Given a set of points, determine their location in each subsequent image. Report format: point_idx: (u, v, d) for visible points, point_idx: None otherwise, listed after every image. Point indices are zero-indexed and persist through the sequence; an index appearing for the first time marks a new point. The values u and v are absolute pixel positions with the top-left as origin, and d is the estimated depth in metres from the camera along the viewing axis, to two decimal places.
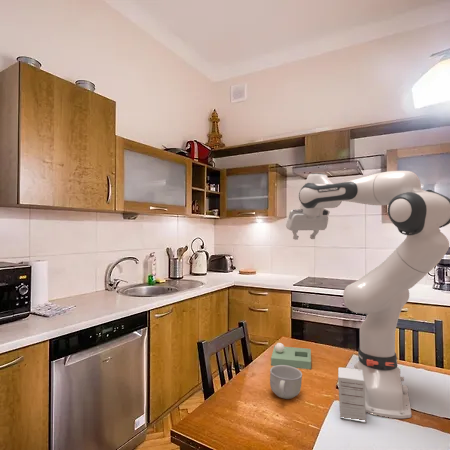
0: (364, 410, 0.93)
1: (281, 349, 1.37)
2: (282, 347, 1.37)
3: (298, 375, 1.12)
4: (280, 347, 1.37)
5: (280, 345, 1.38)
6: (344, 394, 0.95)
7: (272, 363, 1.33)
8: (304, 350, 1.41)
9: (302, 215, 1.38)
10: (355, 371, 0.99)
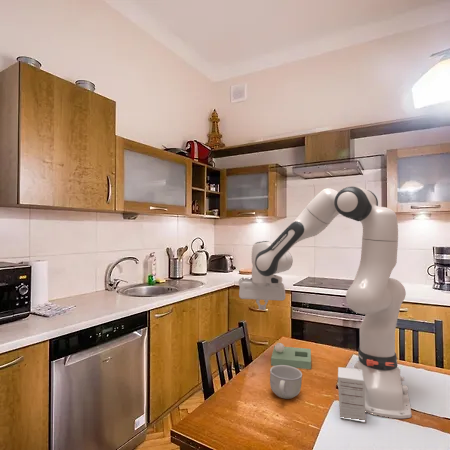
0: (364, 410, 0.93)
1: (281, 349, 1.37)
2: (282, 347, 1.37)
3: (298, 375, 1.12)
4: (280, 347, 1.37)
5: (280, 345, 1.38)
6: (344, 394, 0.95)
7: (272, 363, 1.33)
8: (304, 350, 1.41)
9: (250, 283, 1.40)
10: (355, 371, 0.99)
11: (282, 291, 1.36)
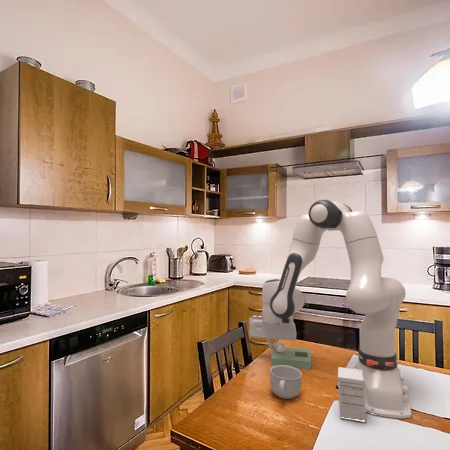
0: (364, 410, 0.93)
1: (282, 349, 1.37)
2: (283, 348, 1.37)
3: (298, 375, 1.12)
4: (281, 347, 1.37)
5: (282, 345, 1.37)
6: (344, 394, 0.95)
7: (272, 363, 1.33)
8: (304, 350, 1.41)
9: (260, 322, 1.39)
10: (355, 371, 0.99)
11: (293, 331, 1.35)
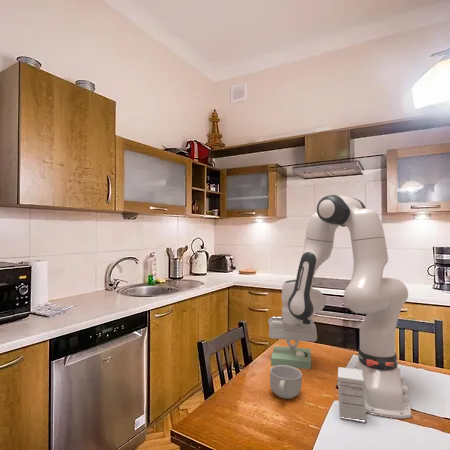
0: (364, 410, 0.93)
1: (299, 355, 1.35)
2: (297, 354, 1.36)
3: (298, 375, 1.12)
4: None
5: None
6: (344, 394, 0.95)
7: (272, 363, 1.33)
8: (304, 350, 1.41)
9: (280, 323, 1.37)
10: (355, 371, 0.99)
11: (314, 332, 1.33)
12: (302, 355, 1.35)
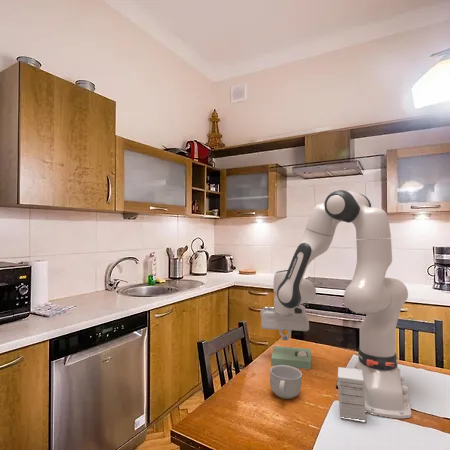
0: (364, 410, 0.93)
1: (302, 355, 1.35)
2: (301, 353, 1.35)
3: (298, 375, 1.12)
4: (300, 355, 1.35)
5: (299, 354, 1.36)
6: (344, 394, 0.95)
7: (272, 363, 1.33)
8: (304, 350, 1.41)
9: (272, 313, 1.38)
10: (355, 371, 0.99)
11: (306, 321, 1.34)
12: None
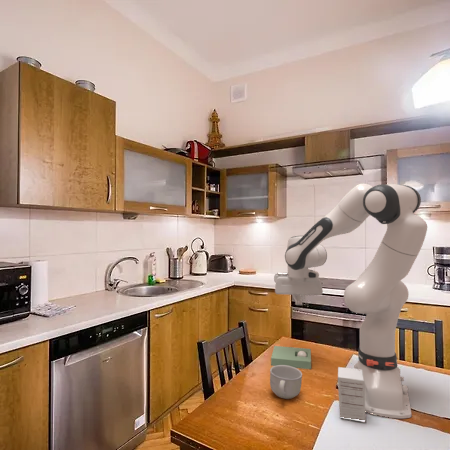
0: (364, 410, 0.93)
1: (302, 355, 1.35)
2: (301, 353, 1.35)
3: (298, 375, 1.12)
4: (300, 355, 1.35)
5: (298, 354, 1.36)
6: (344, 394, 0.95)
7: (272, 363, 1.33)
8: (304, 350, 1.41)
9: (286, 278, 1.39)
10: (355, 371, 0.99)
11: (320, 285, 1.36)
12: None
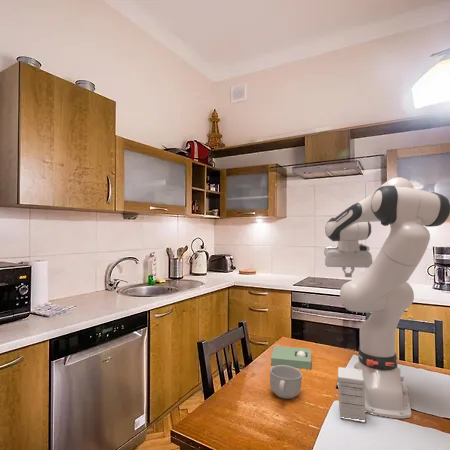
0: (364, 410, 0.93)
1: (301, 355, 1.35)
2: (299, 353, 1.36)
3: (298, 375, 1.12)
4: (299, 355, 1.35)
5: (297, 355, 1.36)
6: (344, 394, 0.95)
7: (272, 363, 1.33)
8: (304, 350, 1.41)
9: (337, 251, 1.46)
10: (355, 371, 0.99)
11: (370, 258, 1.42)
12: (304, 356, 1.35)
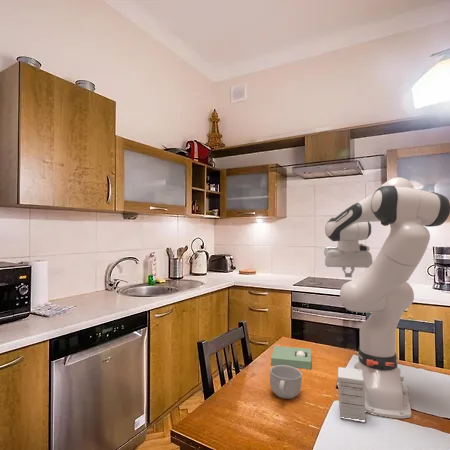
0: (364, 410, 0.93)
1: (300, 355, 1.35)
2: (298, 353, 1.36)
3: (298, 375, 1.12)
4: None
5: (296, 355, 1.36)
6: (344, 394, 0.95)
7: (272, 363, 1.33)
8: (304, 350, 1.41)
9: (337, 251, 1.46)
10: (355, 371, 0.99)
11: (370, 258, 1.42)
12: (303, 355, 1.35)
